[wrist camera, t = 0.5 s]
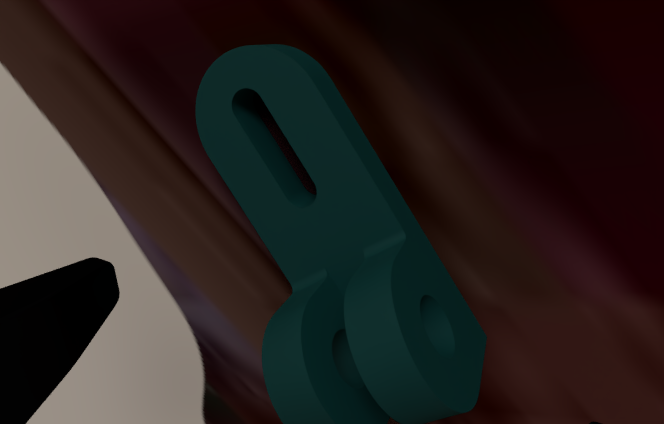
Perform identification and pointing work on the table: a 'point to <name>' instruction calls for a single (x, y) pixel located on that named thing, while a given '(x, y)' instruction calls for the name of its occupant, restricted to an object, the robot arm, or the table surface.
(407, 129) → the table surface
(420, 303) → the bracket
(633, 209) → the table surface
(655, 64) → the table surface
